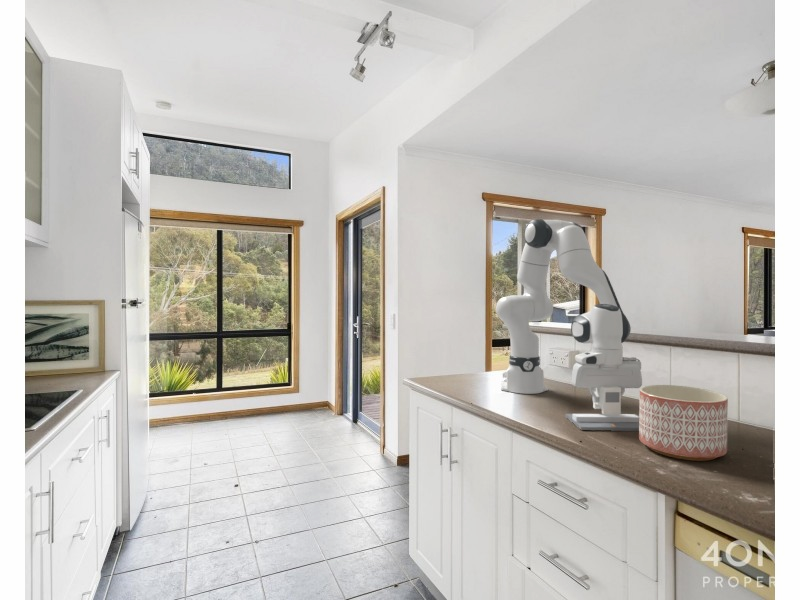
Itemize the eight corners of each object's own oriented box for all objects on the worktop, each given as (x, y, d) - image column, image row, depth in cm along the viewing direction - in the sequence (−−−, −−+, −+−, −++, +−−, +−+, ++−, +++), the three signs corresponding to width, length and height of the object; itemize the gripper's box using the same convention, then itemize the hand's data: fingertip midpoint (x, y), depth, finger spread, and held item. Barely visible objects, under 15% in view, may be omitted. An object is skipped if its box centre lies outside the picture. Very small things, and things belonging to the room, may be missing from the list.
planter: (650, 432, 130) (651, 381, 129) (732, 449, 116) (733, 392, 116) (628, 450, 116) (629, 393, 115) (719, 470, 102) (720, 406, 102)
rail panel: (565, 416, 146) (565, 409, 146) (627, 417, 145) (628, 409, 145) (581, 430, 132) (581, 422, 132) (650, 431, 131) (650, 422, 131)
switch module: (593, 407, 142) (593, 382, 142) (609, 407, 142) (609, 382, 142) (603, 414, 134) (604, 387, 134) (621, 414, 134) (621, 387, 134)
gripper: (636, 355, 141) (635, 399, 141) (569, 355, 141) (569, 399, 142) (646, 358, 134) (646, 404, 135) (577, 358, 135) (576, 404, 135)
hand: (606, 402), depth 138 cm, fingers closed on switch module, 5 cm apart
